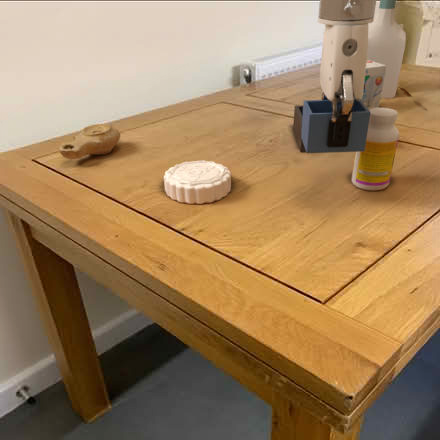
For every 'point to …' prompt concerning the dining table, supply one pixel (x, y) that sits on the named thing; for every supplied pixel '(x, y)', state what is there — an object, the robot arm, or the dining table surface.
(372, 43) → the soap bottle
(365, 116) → the blue bin
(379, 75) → the light bulb box
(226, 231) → the dining table surface
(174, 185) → the mooncake
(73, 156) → the oil lamp
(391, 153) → the supplement bottle
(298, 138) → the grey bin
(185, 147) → the dining table surface
